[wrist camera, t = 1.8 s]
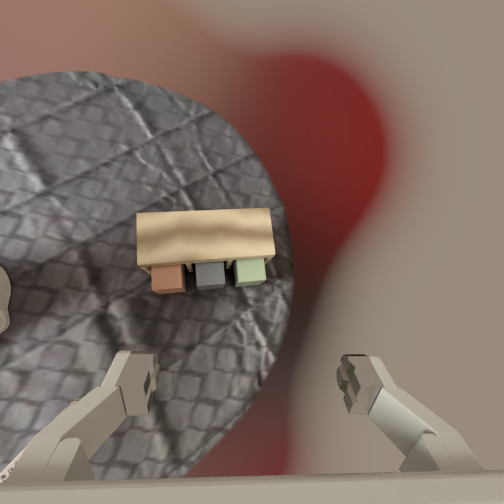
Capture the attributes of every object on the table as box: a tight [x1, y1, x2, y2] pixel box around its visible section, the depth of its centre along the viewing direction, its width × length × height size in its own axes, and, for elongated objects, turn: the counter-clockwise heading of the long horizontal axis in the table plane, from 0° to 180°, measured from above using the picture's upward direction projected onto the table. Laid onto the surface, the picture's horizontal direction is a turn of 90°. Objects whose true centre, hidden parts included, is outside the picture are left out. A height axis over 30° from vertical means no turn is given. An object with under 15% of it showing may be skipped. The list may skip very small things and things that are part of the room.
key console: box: [137, 208, 276, 275], centre depth 51 cm, size 9×23×10 cm, turn 97°
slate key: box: [195, 261, 225, 291], centre depth 51 cm, size 7×5×7 cm
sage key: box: [233, 258, 266, 287], centre depth 52 cm, size 7×5×7 cm
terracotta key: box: [151, 264, 186, 294], centre depth 49 cm, size 7×5×7 cm
